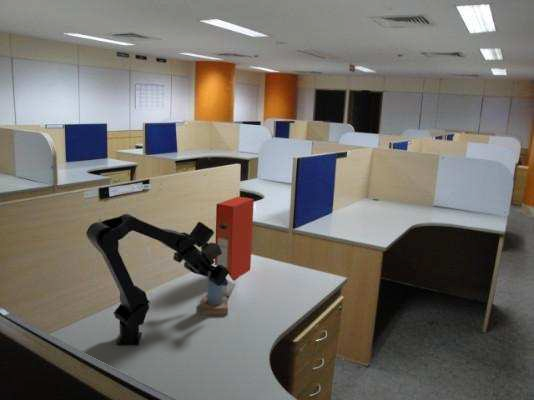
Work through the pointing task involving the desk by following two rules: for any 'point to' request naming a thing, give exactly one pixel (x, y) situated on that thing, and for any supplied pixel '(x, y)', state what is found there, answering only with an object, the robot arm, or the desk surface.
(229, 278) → the die
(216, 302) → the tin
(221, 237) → the file binder
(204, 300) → the base slab
